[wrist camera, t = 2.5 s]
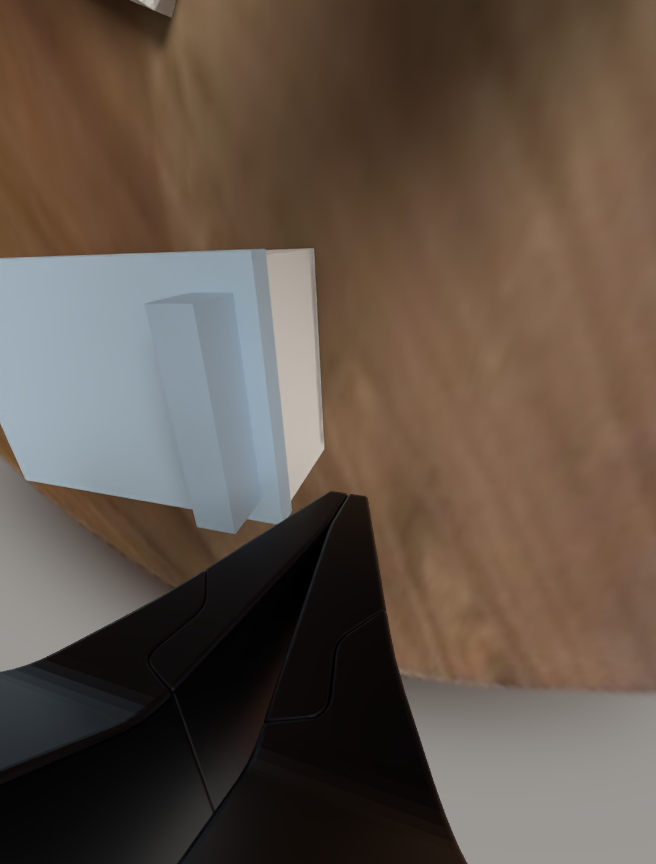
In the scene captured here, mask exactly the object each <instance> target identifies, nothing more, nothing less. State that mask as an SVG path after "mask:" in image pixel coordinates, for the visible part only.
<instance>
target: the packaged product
mask: <svg viewBox="0 0 656 864" xmlns="http://www.w3.org/2000/svg"><path fill="white" fill-rule="evenodd" d="M130 1H133V2H135V3H137V4H140V5H142V6H145V7H147V8H149V9H152V10H154V11H156V12H159V13H161V14H164V15H166V16H168V17H171V18H172V15H173V11H174V8H175V4H176V0H130Z"/></svg>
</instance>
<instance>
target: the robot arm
mask: <svg viewBox="0 0 656 864" xmlns="http://www.w3.org/2000/svg"><path fill="white" fill-rule="evenodd" d="M0 864H467V862H466V860H465V858H464V856H463V854H462V852H461V850H460V849H459V846H458V844H457V842H456V839H455V837H454V835H453V832H452V830H451V827H450V825H449V822H448V820H447V817H446V815H445V812H444V809H443V807H442V804H441V801H440V798H439V795H438V792H437V790H436V787H435V784H434V781H433V778H432V775H431V771H430V768H429V765H428V762H427V759H426V756H425V753H424V750H423V747H422V743H421V741H420V737H419V734H418V731H417V728H416V725H415V722H414V719H413V716H412V712H411V709H410V706H409V703H408V700H407V697H406V694H405V690H404V687H403V683H402V680H401V676H400V673H399V669H398V666H397V662H396V658H395V653H394V649H393V644H392V639H391V634H390V629H389V623H388V616H387V613H386V606H385V600H384V594H383V588H382V582H381V575H380V569H379V563H378V557H377V551H376V545H375V539H374V533H373V527H372V521H371V515H370V509H369V503H368V498H367V497H366V496H361V495H354V494H350V495H347V494H346V493H341V492H334V491H330V492H327V493H326V494H324V495H323V496H321V497H319V498H318V499H316V500H315V501H313V502H312V503H310V504H308V505H307V506H305V507H304V508H302V509H300V510H299V511H297V512H296V513H294V514H292V515H291V516H289V517H288V518H286V519H285V520H283V521H281V522H280V523H278V524H277V525H275V526H273V527H272V528H270V529H269V530H267V531H266V532H264V533H262V534H261V535H259V536H258V537H256V538H254V539H253V540H251V541H250V542H248V543H246V544H245V545H243V546H242V547H240V548H239V549H237V550H235V551H234V552H232V553H231V554H229V555H227V556H226V557H224V558H223V559H221V560H219V561H218V562H216V563H215V564H213V565H212V566H210V567H208V568H207V570H206V571H202V572H200V573H199V574H197V575H195V576H194V577H192V578H191V579H189V580H187V581H186V582H184V583H182V584H181V585H179V586H177V587H176V588H174V589H172V590H171V591H169V592H167V593H166V594H164V595H162V596H161V597H159V598H157V599H155V600H154V601H152V602H150V603H148V604H146V605H144V606H143V607H141V608H139V609H137V610H135V611H133V612H132V613H130V614H128V615H126V616H124V617H122V618H120V619H118V620H116V621H115V622H113V623H111V624H109V625H107V626H105V627H103V628H101V629H99V630H97V631H96V632H94V633H92V634H90V635H88V636H86V637H84V638H82V639H80V640H78V641H77V642H75V643H73V644H71V645H69V646H67V647H65V648H63V649H61V650H60V651H58V652H55V653H53V654H51V655H49V656H47V657H45V658H43V659H41V660H39V661H36V662H33V663H31V664H28V665H25V666H22V667H19V668H16V669H12V670H7V671H3V672H0Z"/></svg>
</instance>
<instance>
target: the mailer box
mask: <svg viewBox="0 0 656 864" xmlns="http://www.w3.org/2000/svg"><path fill="white" fill-rule="evenodd" d="M266 260H267V269H268V279H269V289H270V299H271V309H272V319H273V329H274V339H275V349H276V359H277V369H278V379H279V389H280V398H281V408H282V418H283V428H284V438H285V448H286V458H287V468H288V478H289V488H290V498H291V500H292V498H293V497H294V495H295V494H296V492H297V491H298V489H299V488H300V486H301V484H302V483H303V481H304V480H305V478H306V477H307V475H308V474H309V472H310V471H311V469H312V467H313V466H314V464H315V463H316V461H317V460H318V458H319V457H320V455H321V453H322V452H323V450H324V432H323V412H322V393H321V373H320V354H319V335H318V315H317V296H316V277H315V257H314V248H304V249H275V250H266Z"/></svg>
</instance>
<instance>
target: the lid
mask: <svg viewBox="0 0 656 864" xmlns="http://www.w3.org/2000/svg"><path fill="white" fill-rule="evenodd" d="M0 423H1V426H2V428H3V430H4V432H5V435H6V437H7V439H8V441H9V444H10V446H11V448H12V450H13V453H14V455H15V457H16V459H17V461H18V464H19V466H20V468H21V470H22V473H23V475H24V477H25V479H26V480H29V481H35V482H40V483H46V484H52V485H57V486H63V487H69V488H74V489H80V490H85V491H91V492H97V493H102V494H108V495H114V496H119V497H125V498H130V499H136V500H142V501H147V502H153V503H159V504H164V505H170V506H176V507H181V508H187V509H192V510H193V512H194V517H195V521H196V525H197V527H200V528H205V529H210V530H215V531H220V532H226V533H231V534H236V533H237V531H238V530H239V529H240V527H241V526H242V525H243V523H244V522H245V521H246V519H249V520H254V521H260V522H266V523H271V524H278V523H280V522H281V521H283V520H285V519H286V518H288V516H289V515H290V513H291V512H292V508H291V498H290V488H289V478H288V468H287V458H286V448H285V438H284V428H283V418H282V408H281V398H280V389H279V379H278V369H277V359H276V349H275V339H274V329H273V319H272V309H271V299H270V289H269V279H268V269H267V260H266V250H265V249H242V250H214V251H187V252H159V253H131V254H103V255H76V256H48V257H20V258H0Z"/></svg>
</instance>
